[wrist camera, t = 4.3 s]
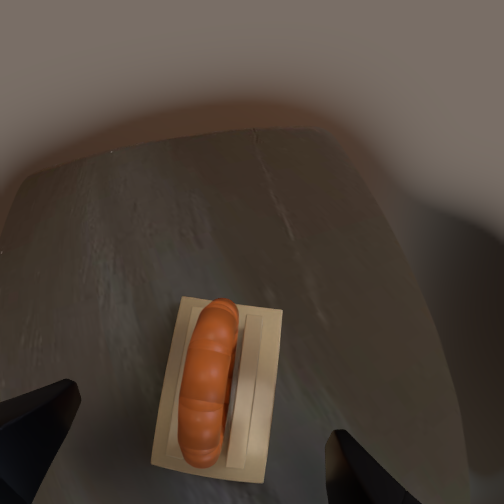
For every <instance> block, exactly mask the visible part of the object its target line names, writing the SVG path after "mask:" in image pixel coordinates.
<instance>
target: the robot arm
mask: <svg viewBox="0 0 504 504" xmlns="http://www.w3.org/2000/svg"><path fill="white" fill-rule="evenodd" d="M80 403H81V396H80V393H79V389H78V386H77V384H76V382H74V381H72V380H70V379H63V380H61V381H58V382H56V383H53V384H50V385H48V386H45V387H42V388H40V389H37V390H34V391H32V392H29V393H26V394H23V395H20V396H18V397H15V398H12V399H9V400H6V401H3V402H0V504H32V502H33V500H34V497H35V495H36V493H37V491H38V489H39V487H40V485H41V483H42V481H43V479H44V477H45V475H46V473H47V471H48V469H49V467H50V465H51V463H52V461H53V459H54V458H55V456H56V454H57V452H58V450H59V448H60V446H61V445H62V443H63V441H64V439H65V437H66V435H67V434H68V431H69V429H70V427H71V424H72V422H73V420H74V417H75V415H76V413H77V410H78V408H79V406H80ZM325 463H326V489H327V496H328V503H329V504H421V503H420V502H419V501H418V500H417V499H416V498H414V497H413V496H412V495H411V494H410V493H409V492H408V491H406V490H405V489H404V488H403V487H402V486H401V485H400V484H399V483H398V482H397V481H396V480H395V479H394V478H393V477H392V476H391V475H390V474H389V473H388V472H387V471H386V470H385V469H384V468H383V467H382V466H381V465H380V464H379V463H378V462H377V461H376V460H375V459H374V458H373V457H372V456H371V455H370V454H369V453H368V452H367V451H366V450H365V449H364V448H363V447H362V446H361V445H360V444H359V443H358V442H357V441H356V440H355V439H354V438H353V437H352V436H351V435H350V434H349V433H348V432H347V431H346V430H344V429H340V430H333V431H332V433H331V435H330V437H329V439H328V441H327V443H326V446H325Z"/></svg>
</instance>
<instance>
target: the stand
mask: <svg viewBox="0 0 504 504" xmlns="http://www.w3.org/2000/svg"><path fill="white" fill-rule="evenodd" d="M211 302H212V301H211V300H204V299H198V298H192V297H185V296H182V298H181V302H180V307H179V311H178V315H177V320H176V324H175V328H174V333H173V338H172V342H171V347H170V352H169V357H168V361H167V366H166V372H165V377H164V382H163V387H162V393H161V399H160V404H159V410H158V416H157V422H156V429H155V435H154V442H153V449H152V457H151V464H153V465H156V466H160V467H164V468H167V469H171V470H176V471H180V472H184V473H189V474H194V475H199V476H205V477H210V478H217V479H224V480H231V481H240V482H250V483H263V482H264V475H265V468H266V461H267V454H268V446H269V439H270V431H271V423H272V414H273V406H274V397H275V388H276V378H277V369H278V358H279V348H280V337H281V325H282V313H283V311H282V310H278V309H270V308H262V307H254V306H246V305H239V304H235V305H236V306H237V308H238V311H239V328H238V338H237V347H236V355H235V363H234V371H233V379H232V386H231V393H230V400H229V407H228V413H227V420H226V426H225V432H224V437H223V443H222V448H221V452H220V455H219V458H218V460H217V462H216V463H215V464H214V465H213V466H211V467H209V468H205V469H199V468H195V467H193V466H191V465H189V464H188V463H187V462H186V461H185V459H184V458H183V455H182V452H181V449H180V446H179V443H178V437H177V435H178V403H179V393H180V387H181V382H182V376H183V371H184V365H185V360H186V355H187V349H188V346H189V343H190V340H191V337H192V334H193V331H194V328H195V325H196V322H197V320H198V317H199V314H200V312H201V311H202V310H203V308H205V307H206V306H207V305H208V304H209V303H211Z"/></svg>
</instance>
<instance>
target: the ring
mask: <svg viewBox="0 0 504 504" xmlns="http://www.w3.org/2000/svg"><path fill="white" fill-rule="evenodd" d="M238 328H239V311H238V308H237V306H236V305H235V303H234V302H232V301H231V300H229V299H226V298H218V299H215V300H213V301H212V302H211V303H209V304H208V305H207V306H206V307H205V308H203V310H202V311H201V312H200V314H199V317H198V320H197V322H196V325H195V328H194V331H193V334H192V337H191V340H190V343H189V346H188V349H187V355H186V360H185V365H184V371H183V376H182V382H181V387H180V393H179V403H178V435H177V437H178V443H179V446H180V449H181V452H182V455H183V458H184V459H185V461H186V462H187V463H188V464H189V465H191V466H193V467H195V468H199V469H205V468H209V467H211V466H213V465H214V464H215V463H216V462H217V460H218V458H219V455H220V452H221V448H222V443H223V437H224V432H225V426H226V420H227V413H228V407H229V400H230V393H231V386H232V379H233V371H234V363H235V355H236V347H237V338H238Z"/></svg>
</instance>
